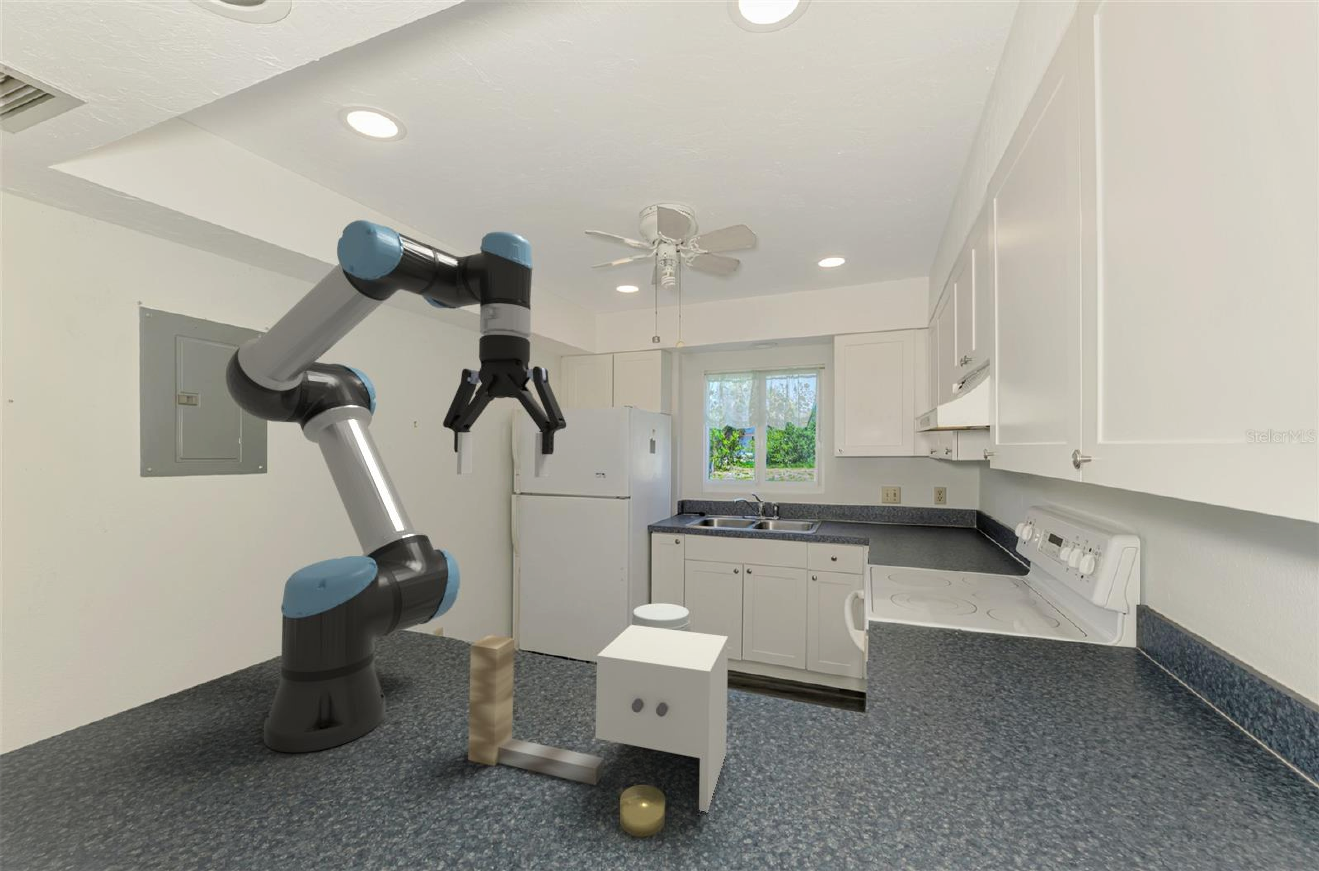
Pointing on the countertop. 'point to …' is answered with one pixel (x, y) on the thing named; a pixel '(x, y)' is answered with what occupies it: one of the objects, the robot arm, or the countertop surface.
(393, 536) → the robot arm
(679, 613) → the supplement tub
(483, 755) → the scraper tool
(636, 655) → the cabinet
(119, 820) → the countertop surface
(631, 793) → the cylinder
